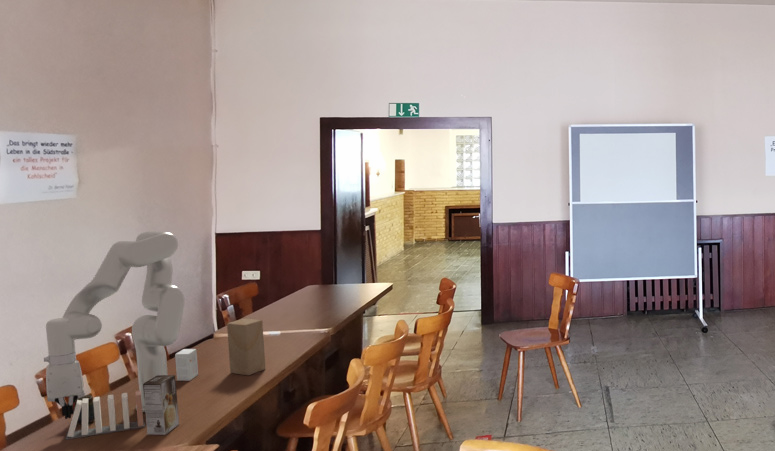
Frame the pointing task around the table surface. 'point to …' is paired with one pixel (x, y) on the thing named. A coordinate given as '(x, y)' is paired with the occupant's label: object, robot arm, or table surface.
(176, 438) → the table surface
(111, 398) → the domino
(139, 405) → the domino
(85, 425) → the domino
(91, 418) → the mate gourd
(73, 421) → the domino
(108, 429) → the mat
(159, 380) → the coffee box
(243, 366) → the wooden block
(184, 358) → the small box
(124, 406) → the domino
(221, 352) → the table surface
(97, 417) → the domino
